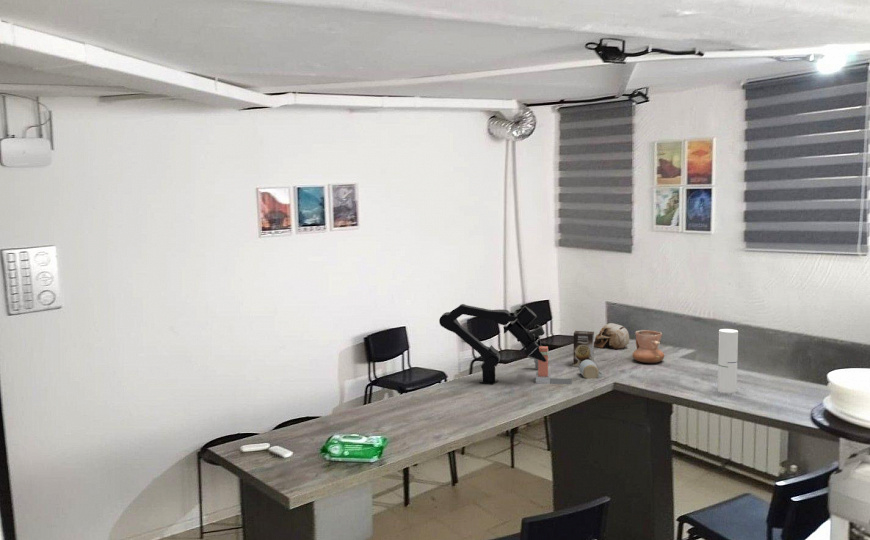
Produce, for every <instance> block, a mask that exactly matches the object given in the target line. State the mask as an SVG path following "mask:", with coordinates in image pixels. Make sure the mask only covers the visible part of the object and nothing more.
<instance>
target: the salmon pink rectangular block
mask: <svg viewBox="0 0 870 540" xmlns="http://www.w3.org/2000/svg"><path fill="white" fill-rule="evenodd" d="M539 351H540V352H541V353H542V355H543V356H544V357H545V359H546V362H543V361H541V360H538V370H537V372H538V376H548V372H549V346H543V345H542V346H539Z"/></svg>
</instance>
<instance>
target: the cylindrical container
mask: <svg viewBox="0 0 870 540" xmlns="http://www.w3.org/2000/svg"><path fill="white" fill-rule="evenodd" d="M738 348H739V330H737V329H733V328H720V329H719V330H718V359H717V360H718V361H717V364H718V365H717V391H718V392H719V393H722V394H723V393H724V394H736V393H737V390H738V353H739V351H738V350H739V349H738Z"/></svg>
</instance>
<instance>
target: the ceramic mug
mask: <svg viewBox="0 0 870 540" xmlns="http://www.w3.org/2000/svg"><path fill="white" fill-rule="evenodd" d="M578 371H579V373H580V374H581V376H583V378H584V379H597V378H604V377H605V376H606V375H605V374H604V373H603V372H601V371H599V368H598V365H596V363H595V362H593V361H591V360H584V361H582V362H581V363H580V365H579V367H578Z"/></svg>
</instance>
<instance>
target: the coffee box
mask: <svg viewBox="0 0 870 540" xmlns="http://www.w3.org/2000/svg"><path fill="white" fill-rule="evenodd" d="M594 342H595V331H589V330H588V331H587V330H586V331H585V330H574V332H573V363H572V364H573V365H572V367H575V368H579V365H580V363H581V362H582V361H584V360H591V361H593V362H594V361H595V360H594V359H595V355H594V354H595V346H594ZM594 363H595V362H594Z"/></svg>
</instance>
